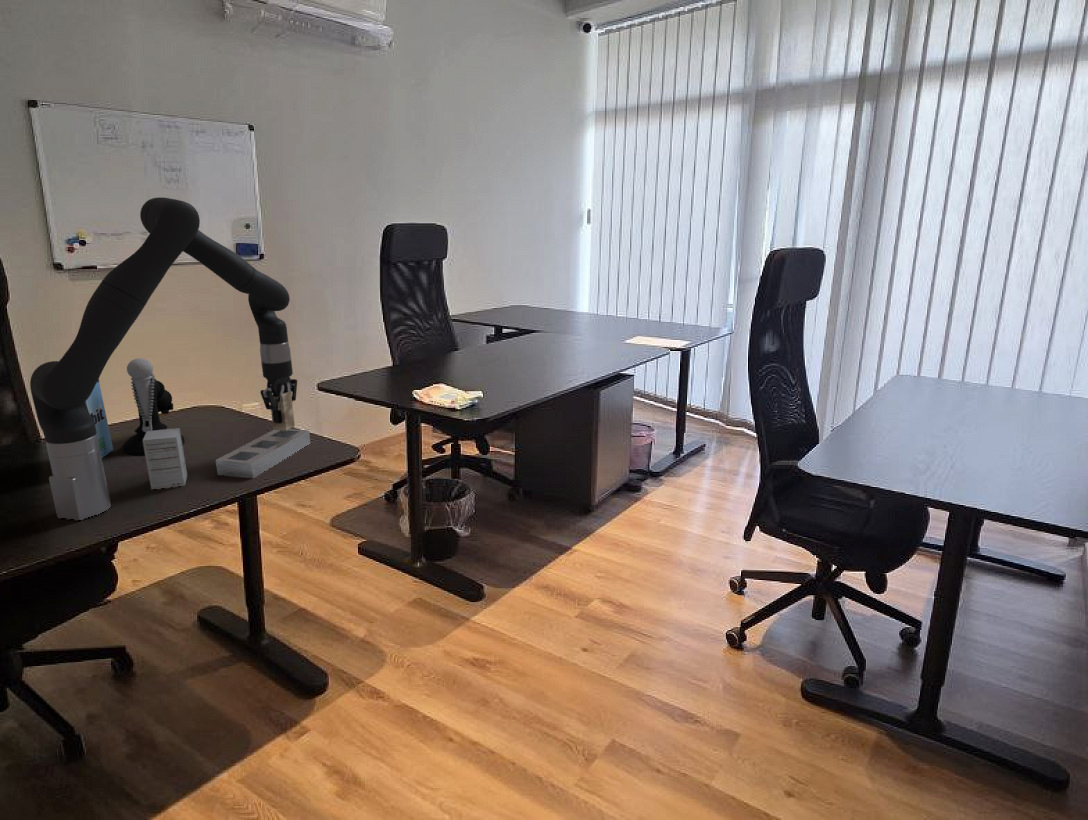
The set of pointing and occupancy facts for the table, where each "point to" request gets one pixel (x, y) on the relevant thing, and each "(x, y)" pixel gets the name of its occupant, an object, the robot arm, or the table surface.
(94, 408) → the gum box
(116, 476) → the table surface
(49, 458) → the robot arm
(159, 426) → the sculpture
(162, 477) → the supplement box
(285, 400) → the maple block
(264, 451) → the grey slotted tray
